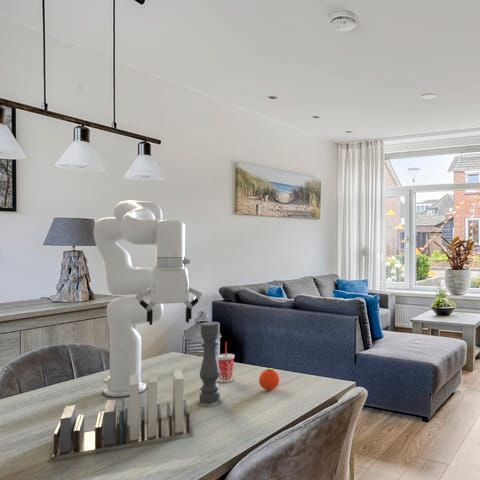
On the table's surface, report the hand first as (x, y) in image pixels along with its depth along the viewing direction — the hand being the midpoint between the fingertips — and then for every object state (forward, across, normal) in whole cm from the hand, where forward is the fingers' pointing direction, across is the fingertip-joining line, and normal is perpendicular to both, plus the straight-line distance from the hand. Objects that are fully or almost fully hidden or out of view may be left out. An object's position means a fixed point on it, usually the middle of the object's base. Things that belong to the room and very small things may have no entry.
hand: (169, 322), depth 129 cm
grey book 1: (+26, +23, +10) cm, 36 cm away
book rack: (+27, +10, +10) cm, 31 cm away
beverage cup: (+28, -21, -29) cm, 45 cm away
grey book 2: (+26, +14, +10) cm, 31 cm away
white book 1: (+26, +8, +10) cm, 29 cm away
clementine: (+28, -33, -12) cm, 45 cm away
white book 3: (+26, -2, +10) cm, 28 cm away
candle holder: (+28, -12, -7) cm, 31 cm away
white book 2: (+26, +4, +10) cm, 28 cm away
